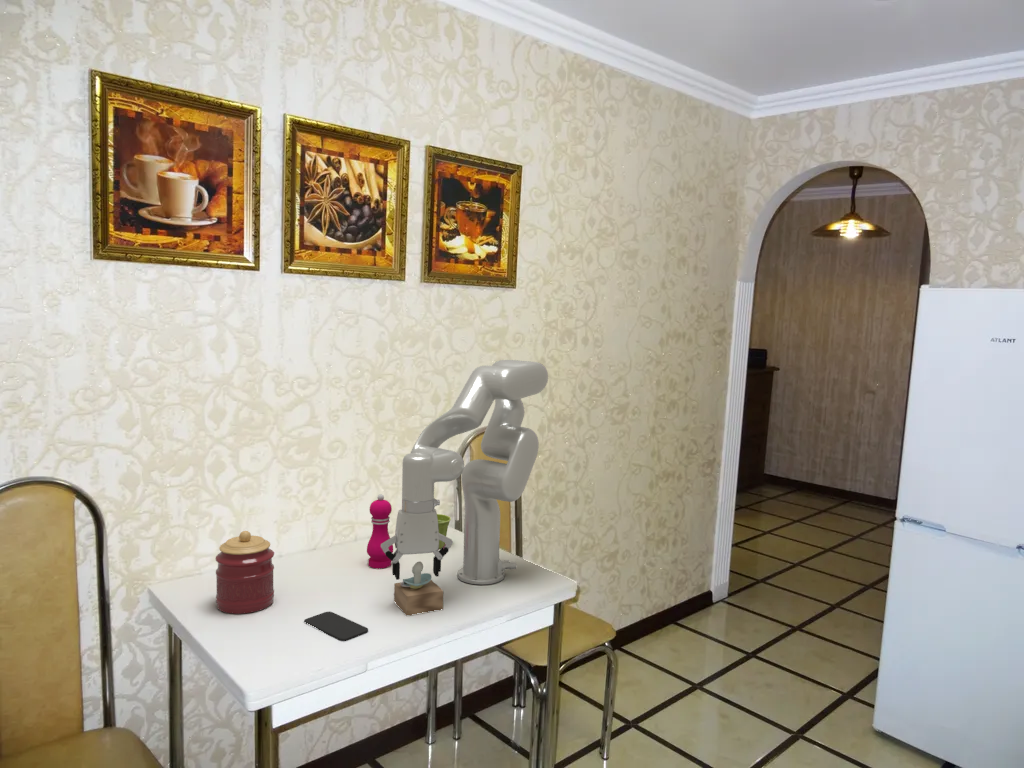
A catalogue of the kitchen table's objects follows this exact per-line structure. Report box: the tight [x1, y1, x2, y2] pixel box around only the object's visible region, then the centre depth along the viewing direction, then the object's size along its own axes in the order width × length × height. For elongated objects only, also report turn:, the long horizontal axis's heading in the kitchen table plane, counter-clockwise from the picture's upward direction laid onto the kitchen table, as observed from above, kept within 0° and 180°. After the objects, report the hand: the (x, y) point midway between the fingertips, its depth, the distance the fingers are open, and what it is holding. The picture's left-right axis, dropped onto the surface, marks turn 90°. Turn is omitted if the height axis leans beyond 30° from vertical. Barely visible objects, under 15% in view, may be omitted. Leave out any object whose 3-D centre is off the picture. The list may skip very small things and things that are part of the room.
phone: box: [303, 611, 369, 642], centre depth 160 cm, size 7×1×15 cm
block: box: [393, 579, 444, 616], centre depth 172 cm, size 9×9×5 cm
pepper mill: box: [366, 493, 394, 570], centre depth 199 cm, size 7×7×20 cm
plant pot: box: [437, 513, 452, 550], centre depth 217 cm, size 9×9×9 cm
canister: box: [215, 530, 275, 615], centre depth 170 cm, size 13×13×18 cm
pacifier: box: [400, 561, 432, 589], centre depth 173 cm, size 7×6×6 cm
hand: (416, 576), depth 172 cm, fingers open, 9 cm apart
